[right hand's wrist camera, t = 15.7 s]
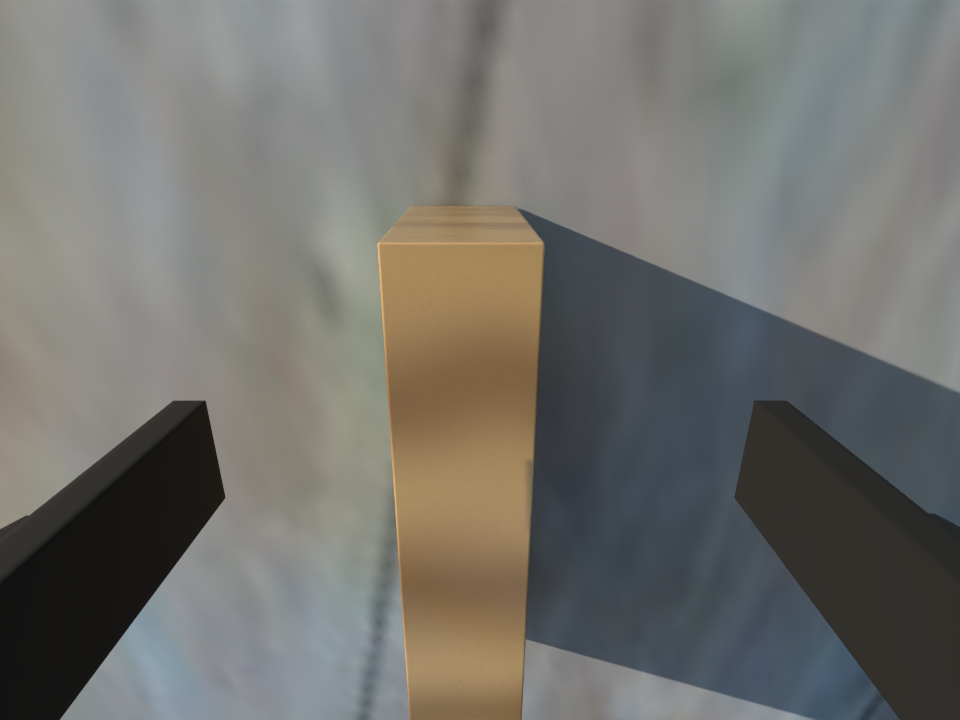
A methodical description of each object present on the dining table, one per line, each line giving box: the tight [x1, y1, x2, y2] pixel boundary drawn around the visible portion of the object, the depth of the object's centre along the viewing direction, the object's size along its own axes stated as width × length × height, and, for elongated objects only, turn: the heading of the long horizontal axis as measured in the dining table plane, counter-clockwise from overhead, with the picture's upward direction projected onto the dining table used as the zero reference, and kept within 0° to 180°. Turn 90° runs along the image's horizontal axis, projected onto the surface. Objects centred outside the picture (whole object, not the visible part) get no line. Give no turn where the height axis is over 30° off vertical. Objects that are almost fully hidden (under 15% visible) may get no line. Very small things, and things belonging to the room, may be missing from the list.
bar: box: [378, 206, 545, 720], centre depth 22 cm, size 23×4×9 cm, turn 0°
